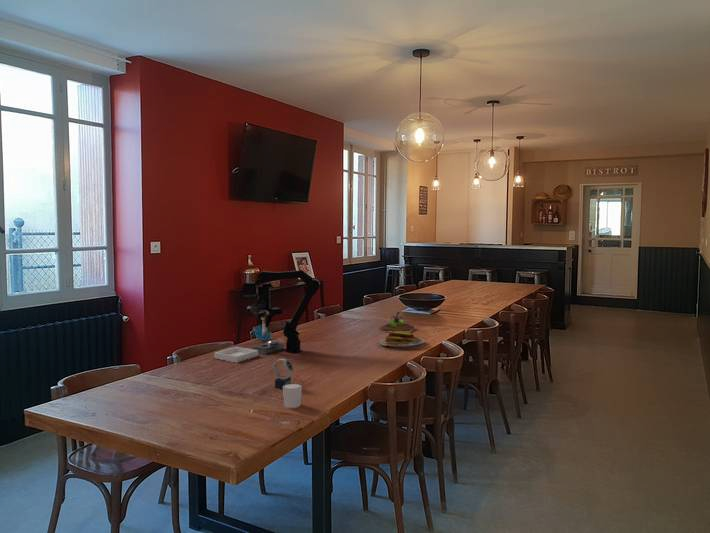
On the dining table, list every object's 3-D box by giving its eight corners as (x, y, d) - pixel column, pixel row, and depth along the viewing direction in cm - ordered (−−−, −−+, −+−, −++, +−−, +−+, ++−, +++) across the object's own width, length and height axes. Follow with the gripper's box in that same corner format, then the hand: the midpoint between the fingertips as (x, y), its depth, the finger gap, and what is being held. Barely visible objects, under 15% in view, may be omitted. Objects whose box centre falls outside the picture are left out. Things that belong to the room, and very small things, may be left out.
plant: (419, 329, 332) (419, 311, 331) (405, 335, 315) (405, 316, 314) (390, 326, 342) (390, 308, 341) (375, 331, 325) (375, 313, 324)
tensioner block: (283, 348, 278) (283, 340, 278) (265, 354, 266) (265, 346, 266) (271, 347, 282) (271, 339, 282) (253, 352, 271) (253, 344, 270)
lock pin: (269, 335, 272) (269, 316, 271) (264, 337, 269) (264, 317, 268) (264, 334, 274) (264, 315, 273) (259, 336, 271) (259, 316, 270)
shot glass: (283, 402, 196) (283, 383, 195) (302, 401, 196) (302, 383, 196) (282, 408, 189) (282, 389, 188) (302, 408, 190) (301, 388, 189)
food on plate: (383, 352, 273) (384, 339, 273) (373, 341, 298) (373, 329, 297) (432, 349, 278) (432, 337, 278) (417, 339, 302) (417, 328, 302)
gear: (258, 340, 291) (252, 325, 297) (253, 346, 294) (247, 331, 300) (275, 340, 299) (269, 325, 304) (270, 346, 302) (264, 331, 307)
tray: (258, 356, 263) (258, 350, 263) (237, 363, 250) (237, 356, 250) (236, 352, 270) (235, 346, 270) (214, 358, 258) (214, 352, 258)
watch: (289, 389, 211) (289, 361, 210) (271, 387, 214) (270, 360, 213) (295, 385, 216) (295, 358, 216) (277, 383, 219) (277, 356, 218)
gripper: (238, 296, 268) (239, 327, 269) (268, 299, 258) (268, 331, 259) (254, 294, 277) (254, 324, 278) (282, 296, 267) (283, 328, 269)
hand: (264, 327), depth 271 cm, fingers closed on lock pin, 3 cm apart
